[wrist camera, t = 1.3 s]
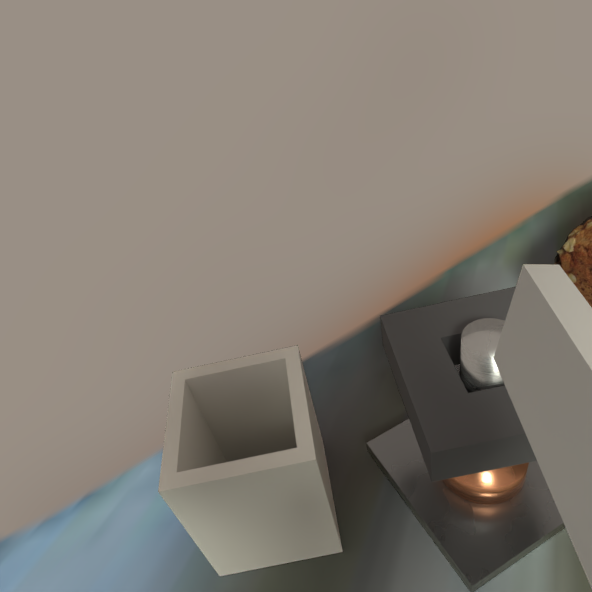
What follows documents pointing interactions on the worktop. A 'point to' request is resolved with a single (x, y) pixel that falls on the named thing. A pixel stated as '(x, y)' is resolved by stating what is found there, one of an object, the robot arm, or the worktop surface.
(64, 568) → the worktop surface
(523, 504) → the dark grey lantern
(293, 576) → the worktop surface
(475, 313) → the dark grey square slab
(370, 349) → the worktop surface
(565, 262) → the bread
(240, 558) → the sleeve
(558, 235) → the worktop surface
